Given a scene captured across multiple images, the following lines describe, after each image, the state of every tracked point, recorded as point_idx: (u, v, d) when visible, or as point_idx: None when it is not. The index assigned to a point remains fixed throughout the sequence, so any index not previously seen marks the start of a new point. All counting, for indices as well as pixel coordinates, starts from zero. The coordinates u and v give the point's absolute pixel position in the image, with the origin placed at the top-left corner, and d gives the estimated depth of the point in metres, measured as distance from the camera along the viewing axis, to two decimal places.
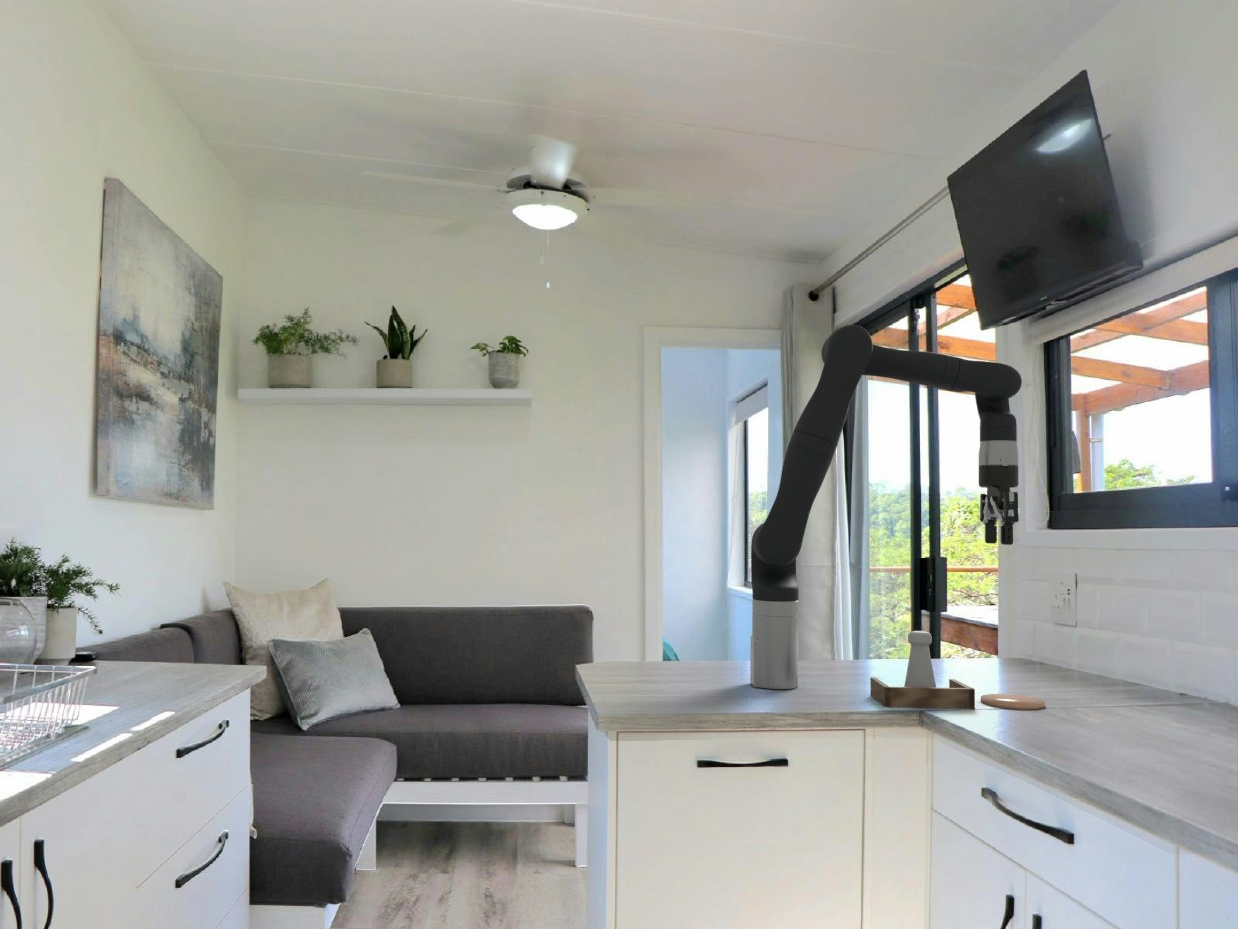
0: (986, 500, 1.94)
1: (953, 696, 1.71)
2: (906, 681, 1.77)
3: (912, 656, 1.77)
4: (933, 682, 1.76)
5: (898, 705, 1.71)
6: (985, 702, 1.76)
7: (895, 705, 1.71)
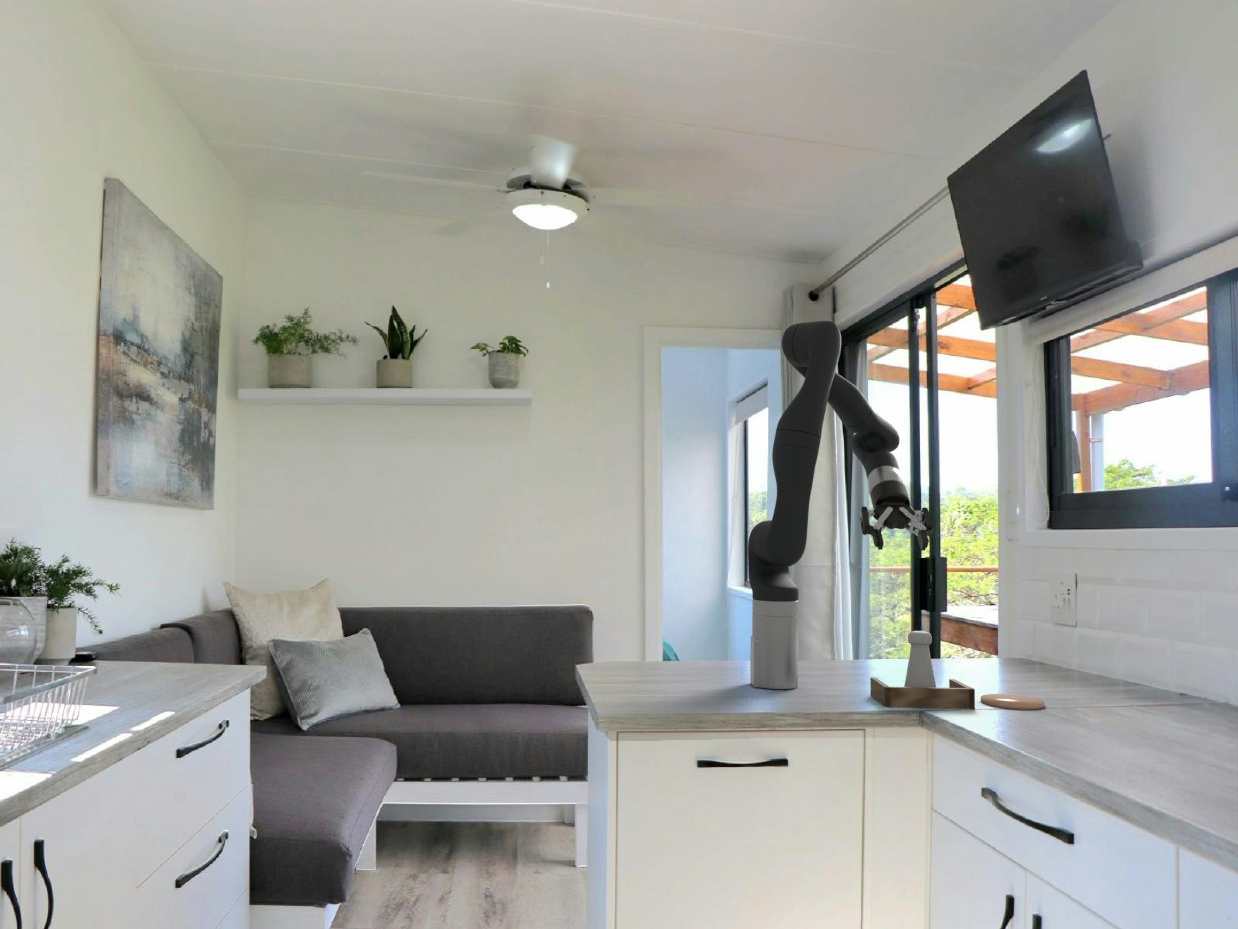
0: (889, 509, 1.96)
1: (953, 696, 1.71)
2: (906, 681, 1.77)
3: (912, 656, 1.77)
4: (933, 682, 1.76)
5: (898, 705, 1.71)
6: (985, 702, 1.76)
7: (895, 705, 1.71)
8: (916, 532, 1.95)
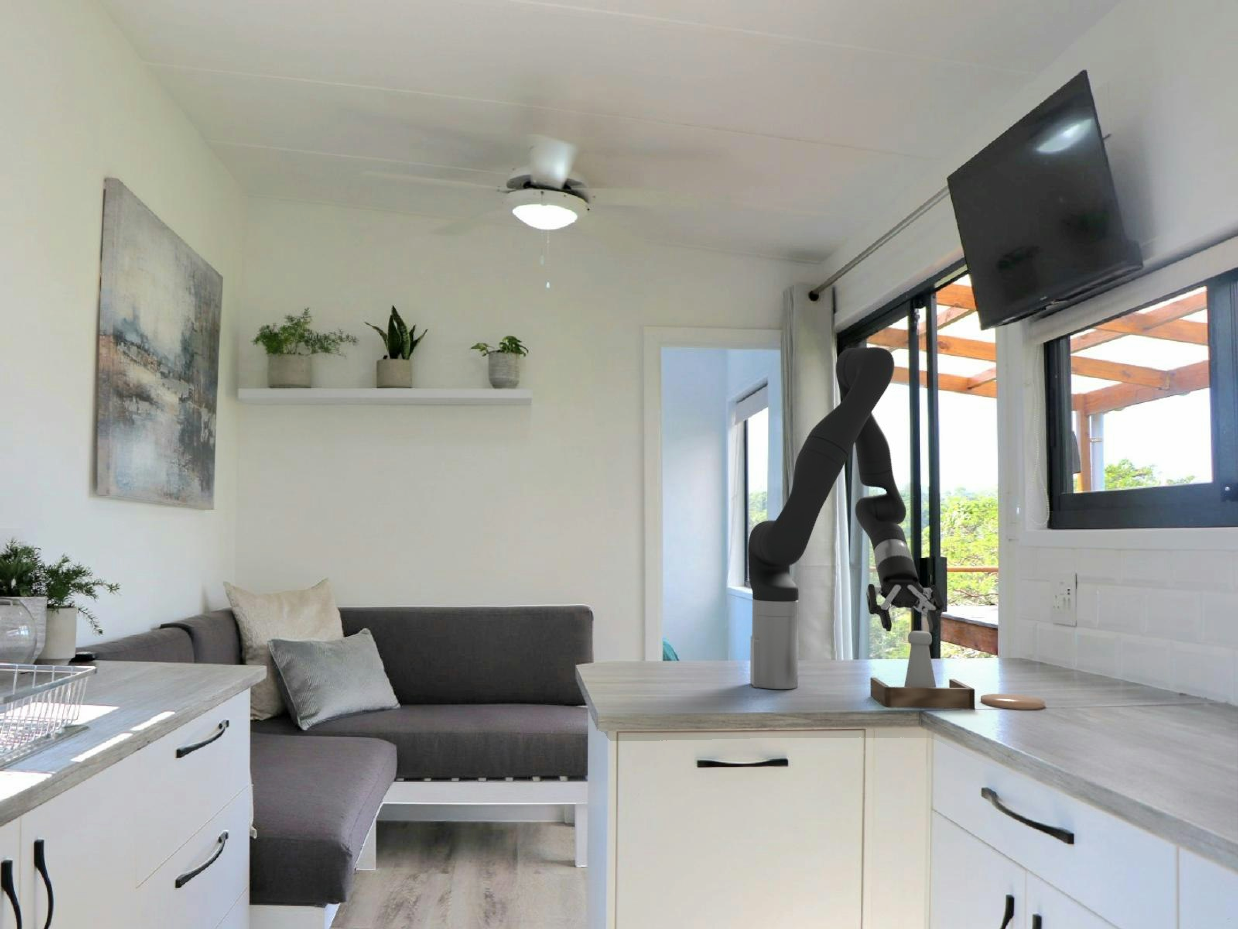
0: (897, 587, 1.89)
1: (953, 696, 1.71)
2: (906, 681, 1.77)
3: (912, 656, 1.77)
4: (933, 682, 1.76)
5: (898, 705, 1.71)
6: (985, 702, 1.76)
7: (895, 705, 1.71)
8: (925, 611, 1.88)
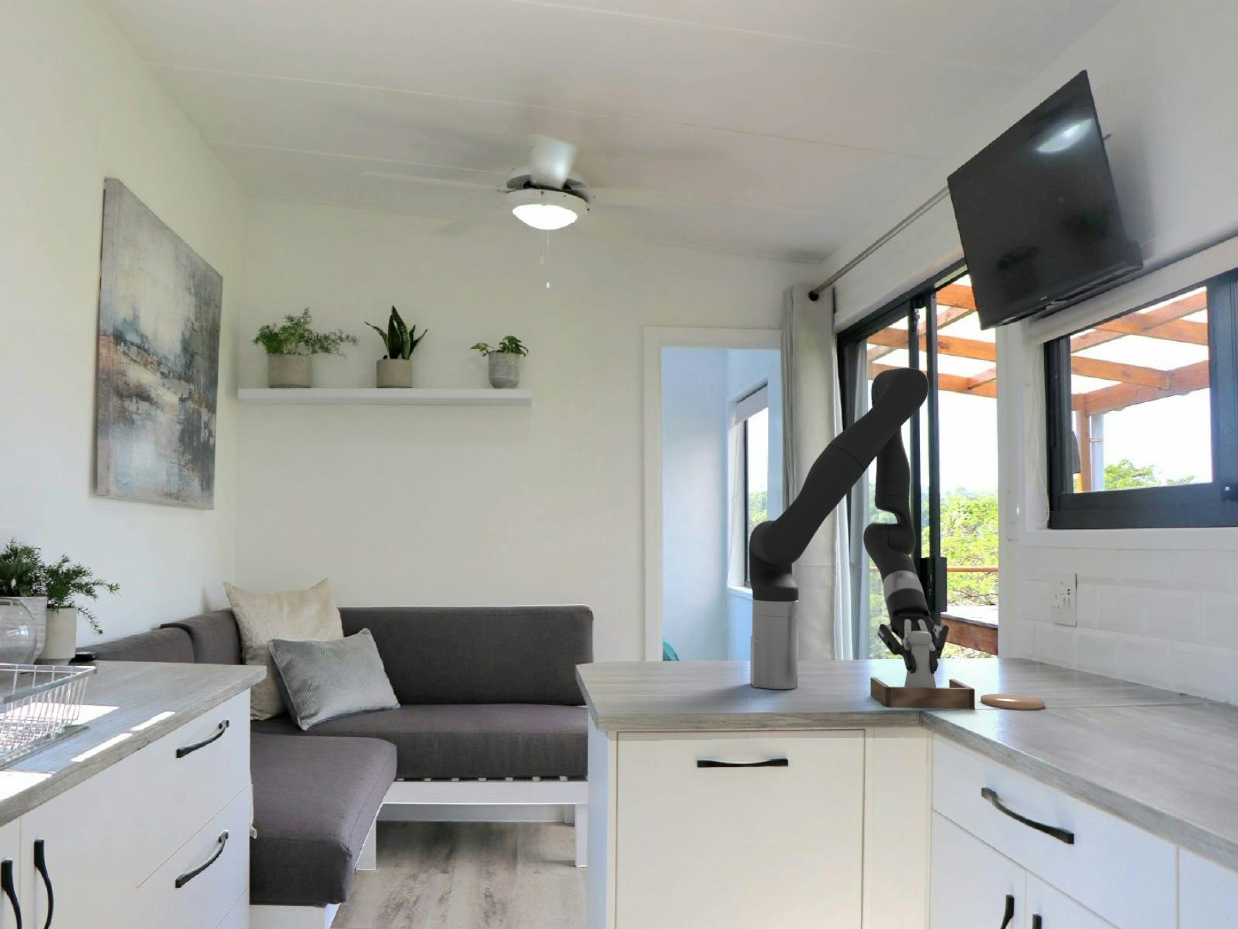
0: (908, 622, 1.82)
1: (953, 696, 1.71)
2: (906, 681, 1.77)
3: None
4: (933, 682, 1.76)
5: (898, 705, 1.71)
6: (985, 702, 1.76)
7: (895, 705, 1.71)
8: None
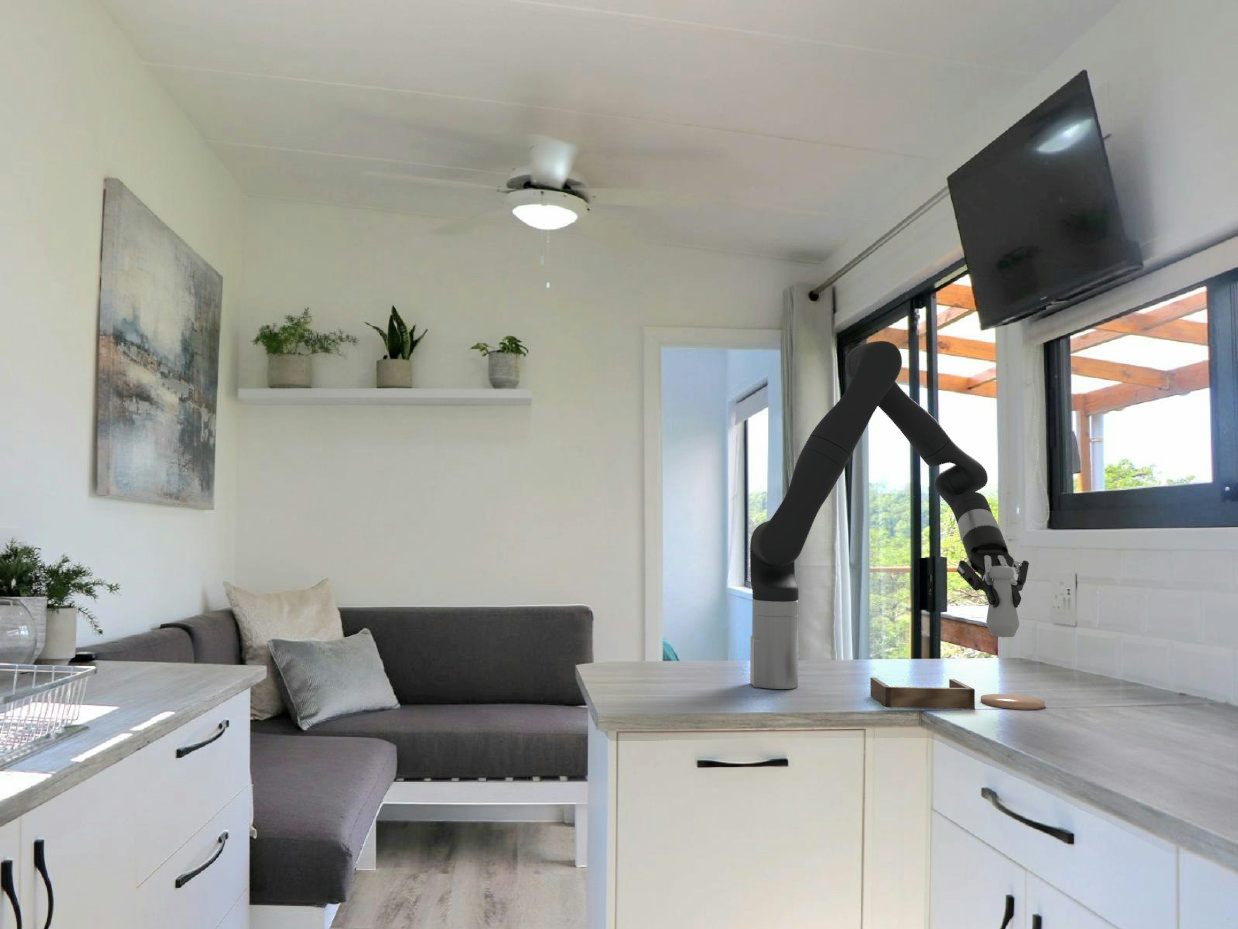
0: (988, 558, 1.82)
1: (953, 696, 1.71)
2: (989, 615, 1.78)
3: None
4: (1016, 615, 1.76)
5: (898, 705, 1.71)
6: (985, 702, 1.76)
7: (895, 705, 1.71)
8: None
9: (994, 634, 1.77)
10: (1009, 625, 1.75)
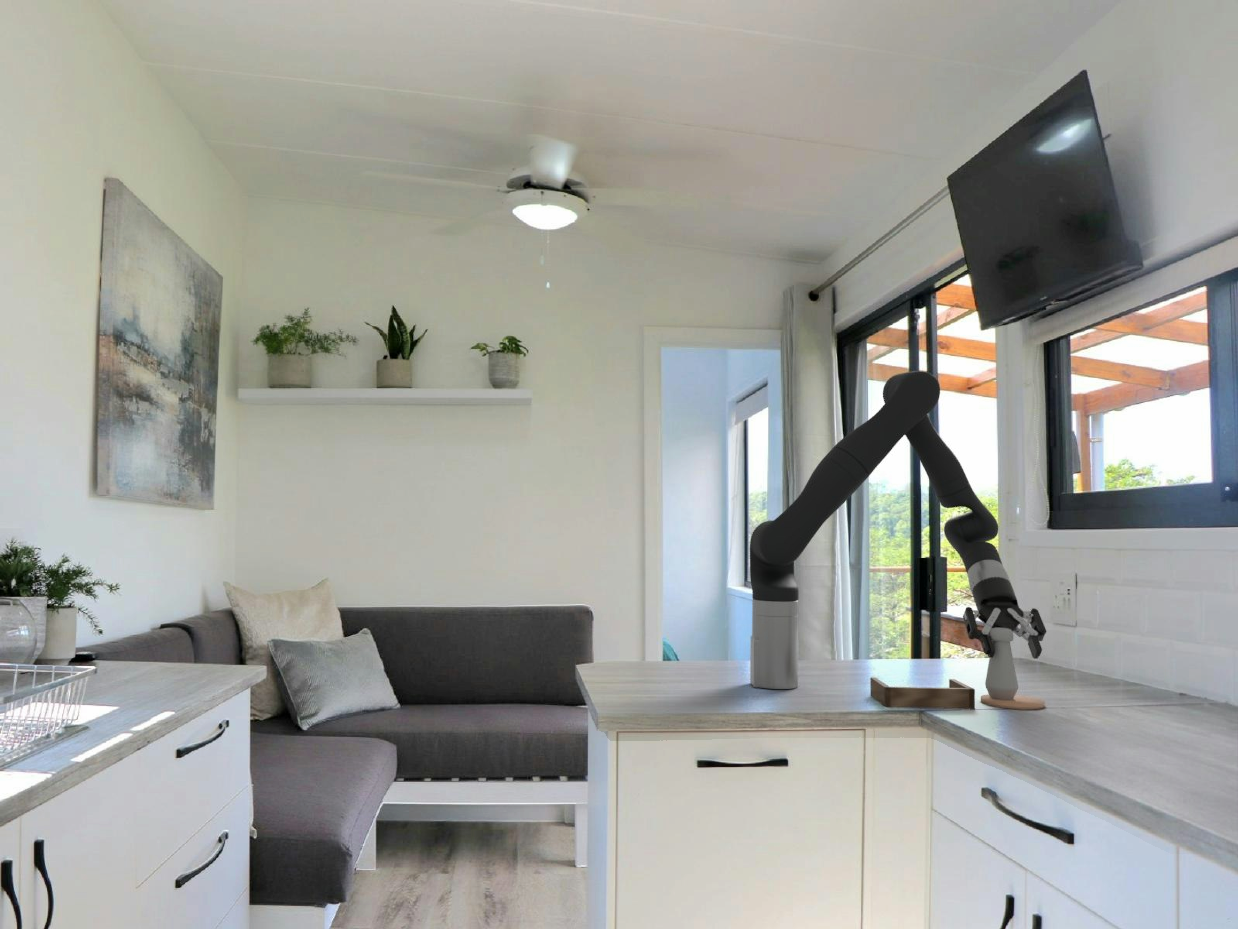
0: (997, 611, 1.81)
1: (953, 696, 1.71)
2: (988, 677, 1.78)
3: None
4: (1015, 678, 1.76)
5: (898, 705, 1.71)
6: (985, 702, 1.76)
7: (895, 705, 1.71)
8: (1026, 636, 1.80)
9: (993, 697, 1.77)
10: (1008, 688, 1.75)
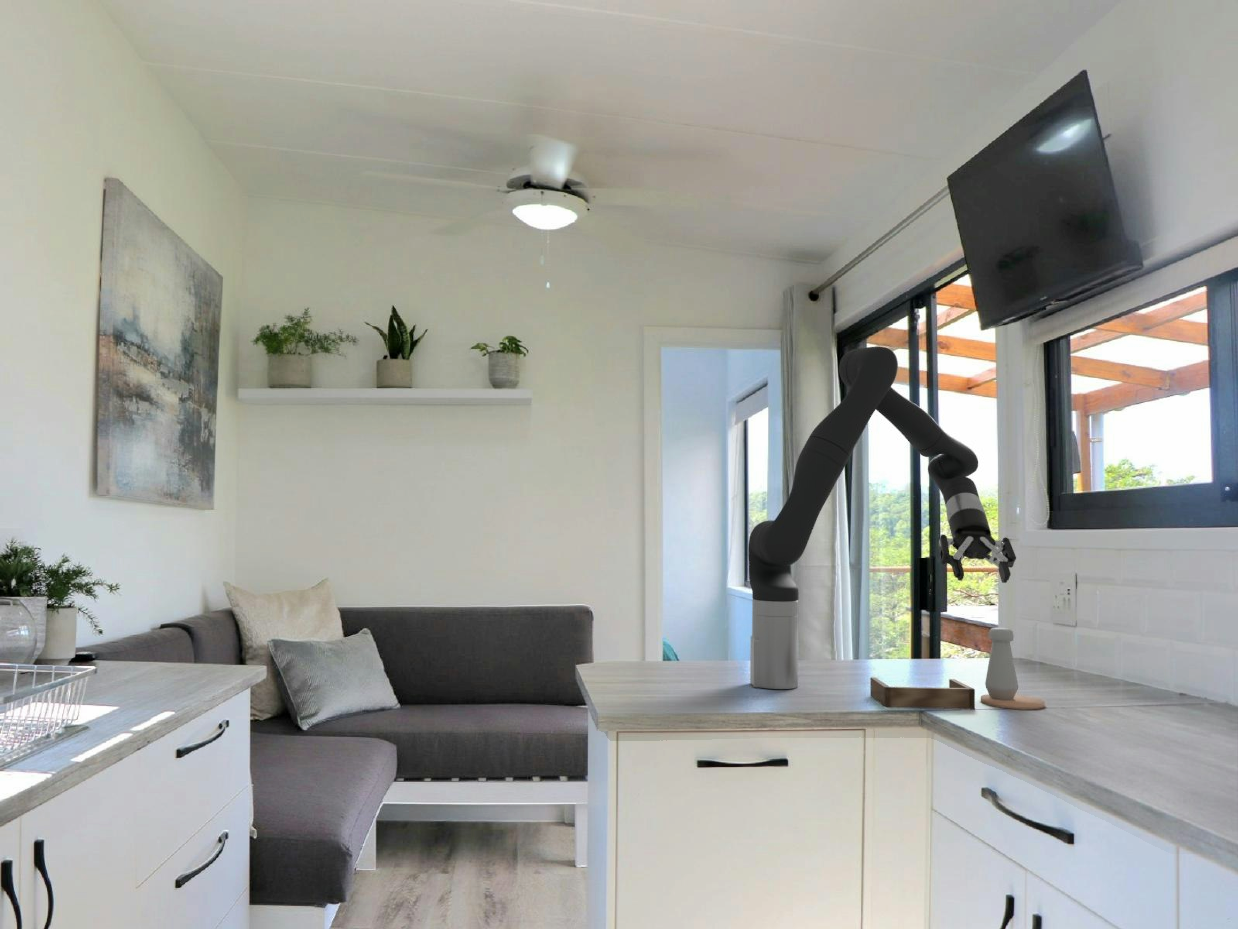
0: (970, 539, 1.92)
1: (953, 696, 1.71)
2: (988, 677, 1.78)
3: (994, 653, 1.77)
4: (1015, 678, 1.76)
5: (898, 705, 1.71)
6: (985, 702, 1.76)
7: (895, 705, 1.71)
8: (997, 563, 1.91)
9: (993, 697, 1.77)
10: (1008, 688, 1.75)
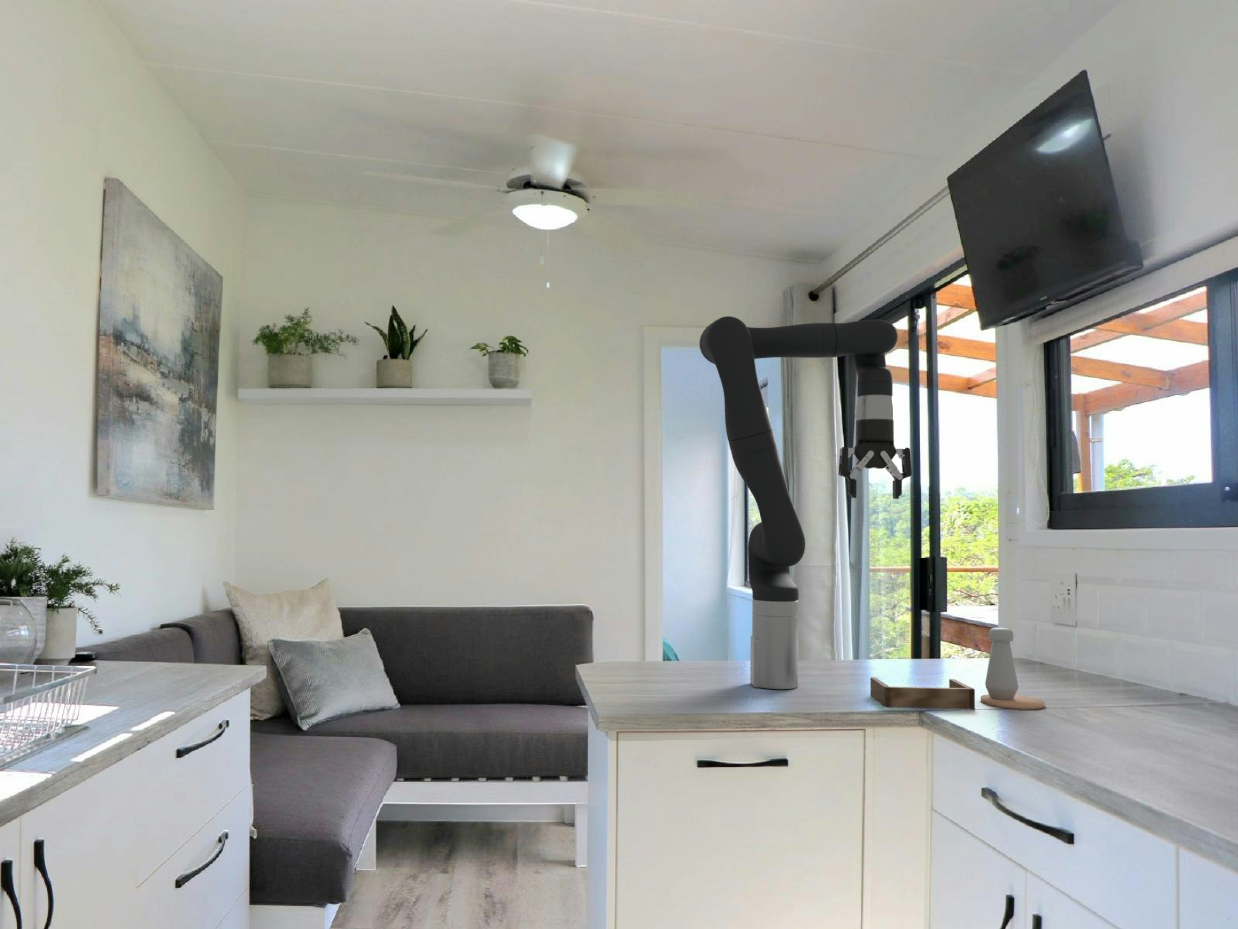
0: (870, 454, 1.92)
1: (953, 696, 1.71)
2: (988, 677, 1.78)
3: (994, 653, 1.77)
4: (1015, 678, 1.76)
5: (898, 705, 1.71)
6: (985, 702, 1.76)
7: (895, 705, 1.71)
8: (893, 474, 1.94)
9: (993, 697, 1.77)
10: (1008, 688, 1.75)
